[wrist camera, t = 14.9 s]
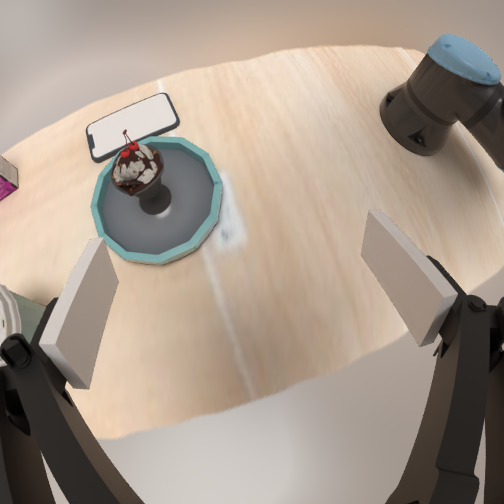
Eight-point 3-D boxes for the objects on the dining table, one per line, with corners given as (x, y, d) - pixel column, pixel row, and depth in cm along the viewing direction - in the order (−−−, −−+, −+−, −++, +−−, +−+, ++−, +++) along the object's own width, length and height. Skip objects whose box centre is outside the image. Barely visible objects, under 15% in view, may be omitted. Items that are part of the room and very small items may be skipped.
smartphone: (167, 95, 48) (87, 130, 45) (165, 89, 46) (84, 125, 43) (182, 128, 46) (95, 167, 44) (181, 123, 45) (92, 162, 42)
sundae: (159, 170, 43) (133, 110, 28) (186, 200, 42) (166, 145, 27) (125, 197, 41) (84, 147, 27) (150, 229, 41) (113, 187, 26)
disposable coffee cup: (26, 358, 36) (-34, 366, 21) (19, 293, 38) (-41, 282, 23) (75, 358, 37) (16, 372, 22) (67, 288, 39) (6, 274, 24)
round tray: (194, 130, 46) (192, 119, 43) (241, 232, 43) (242, 225, 40) (89, 177, 43) (81, 169, 40) (121, 285, 40) (113, 283, 37)
